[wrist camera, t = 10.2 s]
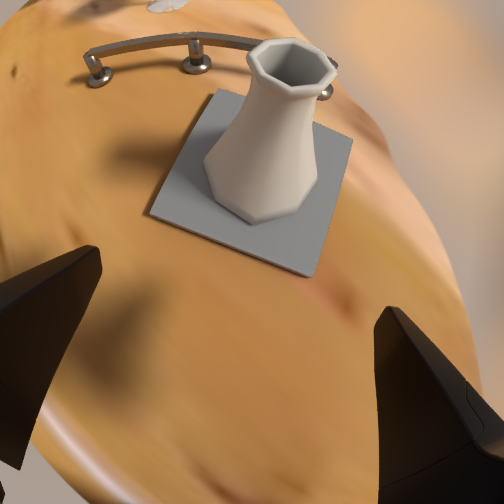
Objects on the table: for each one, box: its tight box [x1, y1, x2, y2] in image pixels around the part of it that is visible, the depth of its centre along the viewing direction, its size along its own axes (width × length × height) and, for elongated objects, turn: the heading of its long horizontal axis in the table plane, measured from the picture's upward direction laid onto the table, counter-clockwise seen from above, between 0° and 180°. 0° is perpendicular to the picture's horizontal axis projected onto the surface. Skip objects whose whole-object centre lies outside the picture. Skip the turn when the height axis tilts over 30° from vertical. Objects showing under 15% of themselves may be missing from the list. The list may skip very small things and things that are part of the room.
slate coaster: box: [150, 88, 353, 278], centre depth 19 cm, size 11×11×1 cm
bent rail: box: [83, 32, 338, 100], centre depth 18 cm, size 4×22×4 cm, turn 85°
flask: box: [202, 37, 338, 226], centre depth 13 cm, size 7×7×10 cm
